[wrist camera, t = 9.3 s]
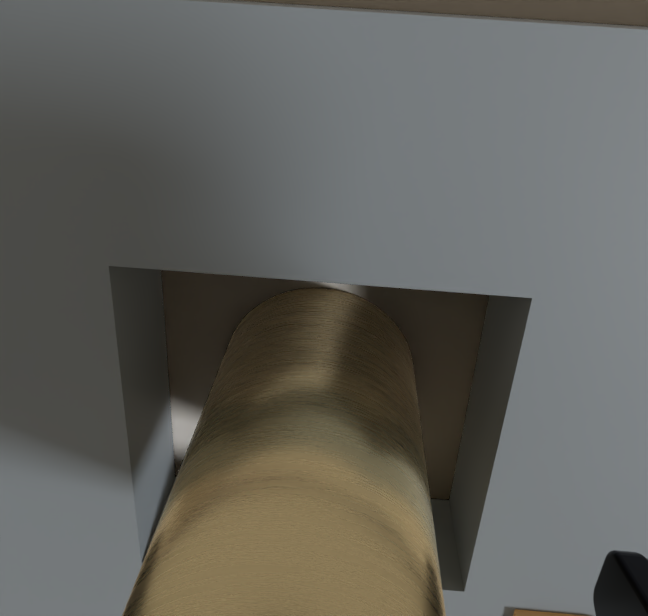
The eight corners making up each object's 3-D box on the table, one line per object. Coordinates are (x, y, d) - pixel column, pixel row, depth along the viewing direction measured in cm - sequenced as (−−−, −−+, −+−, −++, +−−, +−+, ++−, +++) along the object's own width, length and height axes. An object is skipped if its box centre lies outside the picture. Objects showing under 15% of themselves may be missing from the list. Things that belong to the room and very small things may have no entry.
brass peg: (402, 454, 14) (439, 928, 7) (227, 439, 14) (86, 890, 7) (425, 295, 12) (508, 715, 5) (224, 280, 12) (29, 670, 5)
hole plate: (572, 620, 16) (608, 729, 14) (43, 572, 16) (-12, 671, 14) (782, 35, 10) (918, 47, 7) (-83, -19, 10) (-222, -25, 8)
